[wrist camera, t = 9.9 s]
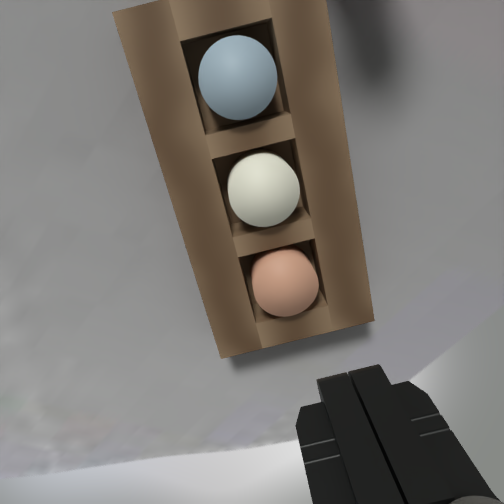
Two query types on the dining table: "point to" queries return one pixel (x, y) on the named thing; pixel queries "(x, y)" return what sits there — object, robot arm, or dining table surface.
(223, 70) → the slate button
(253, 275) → the terracotta button
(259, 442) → the dining table surface
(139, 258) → the dining table surface
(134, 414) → the dining table surface
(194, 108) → the wooden slotted tray
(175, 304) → the dining table surface
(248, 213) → the cream button
